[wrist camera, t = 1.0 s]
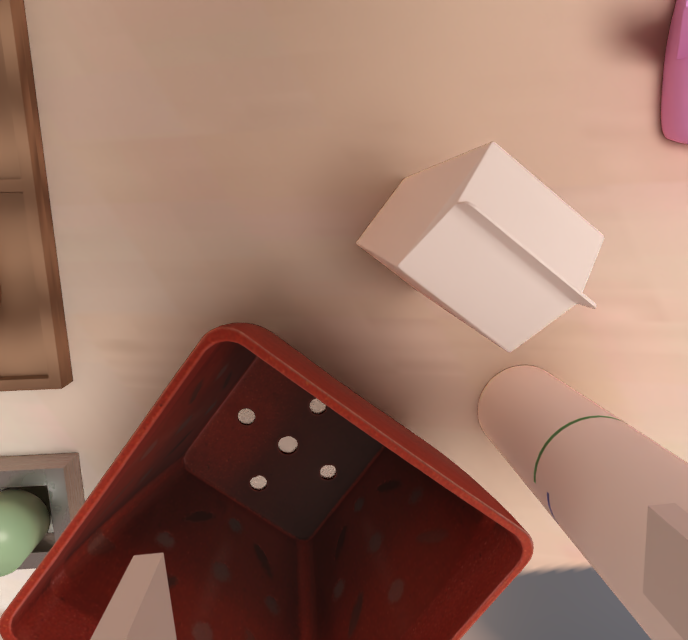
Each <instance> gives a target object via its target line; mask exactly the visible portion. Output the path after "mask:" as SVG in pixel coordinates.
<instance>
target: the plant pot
mask: <svg viewBox="0 0 688 640" xmlns="http://www.w3.org/2000/svg"><path fill="white" fill-rule="evenodd" d="M315 398H317V399H319V400H320V401H321V402H323V403H324V404H326V405H327V408H326V411H325V412H324V413H323V414H320V415H317V414H314V413H312V412H311V410H310V408H309V405H310V402H311V401H312V400H313V399H315ZM246 408H248V409H251V410H252V411H253V412H254V413H255V416H256V418H255V421H254V422H253V423H252V424H250V425H243V424H241V423H240V422H239V420H238V413H239V411H240V410H242V409H246ZM286 436H291V437H293V438H295V439H296V440H297V442H298V448H297V450H296V451H295V452H294V453H292V454H284V453H282V452H281V451H280V450H279V448H278V442H279V440H280V439H281V438H283V437H286ZM325 465H333V466H334V467H335V468H336V470H337V473H336V476H335V477H334V478H333V479H330V480H326V479H323V478H322V477H321V475H320V469H321V468H322V467H323V466H325ZM259 475H260V476H263V477H265V478H266V480H267V486H266V488H265V489H263V490H260V491H258V490H254V489H253V488H252V487H251V486H250V480H251V479H252V478H253V477H256V476H259ZM533 548H534V547H533V542H532V538H531V537H530V535H529V534H528V533H527V532H526V530H525V529H524V528H523V527H522V526H521V525H520V524H519V523H518V522H517V521H516V520H515V519H514V517H513V516H512V515H511V514H510V513H509V512H508V511H507V510H506V509H505V508H504V507H503V506H502V505H501V504H500V503H499V502H498V501H497V500H496V499H494V498H493V497H492V496H491V495H490V494H489V493H488V492H487V491H486V490H485V489H484V488H482V487H481V486H480V485H479V484H478V483H477V482H476V481H475V480H474V479H473V478H471V477H470V476H469V475H468V474H467V473H466V472H465V471H463V470H462V469H461V468H460V467H458V466H457V465H456V464H455V463H453V462H452V461H451V460H450V459H448V458H447V457H446V456H445V455H443V454H442V453H441V452H439V451H438V450H437V449H435V448H434V447H432V446H431V445H430V444H428V443H427V442H425V441H424V440H423V439H421V438H420V437H418V436H417V435H415V434H414V433H412V432H411V431H410V430H408V429H407V428H405V427H404V426H402V425H401V424H399V423H398V422H397V421H395V420H394V419H392V418H391V417H389V416H388V415H386V414H385V413H383V412H382V411H380V410H379V409H378V408H376V407H375V406H373V405H372V404H370V403H369V402H367V401H366V400H365V399H363V398H362V397H360V396H359V395H357V394H356V393H355V392H353V391H352V390H350V389H349V388H347V387H346V386H345V385H343V384H342V383H340V382H339V381H338V380H336V379H335V378H333V377H332V376H331V375H329V374H328V373H327V372H325V371H324V370H322V369H321V368H320V367H318V366H317V365H316V364H314V363H313V362H312V361H310V360H309V359H308V358H306V357H305V356H304V355H302V354H301V353H300V352H298V351H297V350H296V349H294V348H293V347H291V346H290V345H289V344H287V343H286V342H285V341H283V340H282V339H280V338H279V337H278V336H276V335H275V334H274V333H272V332H270V331H269V330H267V329H265V328H263V327H261V326H258V325H254V324H249V323H231V324H227V325H222V326H219V327H217V328H215V329H213V330H210V331H209V332H208V333H206V334H205V335H204V336H203V337H202V339H201V340H200V342H199V343H198V344H197V346H196V347H195V348H194V350H193V351H192V353H191V354H190V355H189V357H188V358H187V359H186V361H185V362H184V364H183V365H182V366H181V368H180V369H179V370H178V372H177V373H176V375H175V376H174V377H173V379H172V380H171V382H170V383H169V384H168V386H167V387H166V389H165V390H164V391H163V393H162V394H161V396H160V397H159V399H158V400H157V401H156V403H155V404H154V406H153V407H152V408H151V410H150V411H149V413H148V414H147V416H146V417H145V418H144V420H143V421H142V423H141V424H140V425H139V427H138V428H137V430H136V431H135V433H134V434H133V435H132V437H131V438H130V440H129V441H128V442H127V444H126V445H125V447H124V448H123V449H122V451H121V452H120V454H119V455H118V456H117V458H116V459H115V461H114V462H113V463H112V465H111V466H110V468H109V469H108V470H107V472H106V473H105V475H104V476H103V477H102V479H101V480H100V482H99V483H98V484H97V486H96V487H95V489H94V490H93V491H92V493H91V494H90V496H89V497H88V498H87V500H86V501H85V502H84V504H83V505H82V507H81V508H80V509H79V511H78V512H77V513H76V515H75V516H74V518H73V519H72V520H71V522H70V523H69V525H68V526H67V527H66V529H65V530H64V532H63V533H62V534H61V536H60V537H59V538H58V540H57V541H56V543H55V544H54V545H53V547H52V548H51V549H50V551H49V552H48V553H47V555H46V556H45V557H44V559H43V560H42V561H41V563H40V564H39V566H38V567H37V568H36V570H35V571H34V572H33V574H32V575H31V576H30V578H29V579H28V580H27V582H26V583H25V584H24V586H23V587H22V589H21V590H20V591H19V593H18V594H17V595H16V597H15V598H14V599H13V601H12V602H11V603H10V605H9V606H8V607H7V609H6V610H5V611H4V613H3V614H2V616H1V618H0V634H1V636H2V638H3V640H90V639H91V637H92V635H93V633H94V631H95V629H96V628H97V626H98V624H99V622H100V620H101V618H102V616H103V614H104V612H105V610H106V608H107V606H108V604H109V602H110V600H111V599H112V597H113V595H114V593H115V591H116V589H117V587H118V585H119V583H120V581H121V579H122V577H123V575H124V573H125V571H126V570H127V568H128V566H129V564H130V562H131V560H132V558H133V556H134V555H144V554H154V553H164V560H165V566H166V573H167V579H168V586H169V592H170V599H171V605H172V612H173V618H174V625H175V632H176V638H177V640H460V639H461V638H462V637H463V635H464V634H465V633H466V632H467V631H468V630H469V629H470V628H471V626H472V625H473V624H474V623H475V622H476V621H477V620H478V619H479V617H480V616H481V615H482V614H483V613H484V612H485V611H486V610H487V608H488V607H489V606H490V605H491V604H492V603H493V602H494V601H495V600H496V598H497V597H498V596H499V595H500V594H501V593H502V592H503V591H504V589H505V588H506V587H507V586H508V585H509V584H510V583H511V582H512V580H513V579H514V578H515V577H516V576H517V575H518V574H519V573H520V572H521V571H522V569H523V568H524V567H525V566H526V565H527V563H528V562H529V561H530V559H531V557H532V554H533Z"/></svg>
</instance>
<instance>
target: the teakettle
mask: <svg viewBox="0 0 688 640" xmlns="http://www.w3.org/2000/svg"><path fill="white" fill-rule="evenodd" d="M661 126H662V131H663V134H664V136H665V137H666V138H667V139H670V140H673V141H676V142H679V143H685V144H688V0H676V3H675V7H674V12H673V16H672V20H671V24H670V29H669V34H668V39H667V45H666V52H665V59H664V70H663V82H662V97H661Z"/></svg>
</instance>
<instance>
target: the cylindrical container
mask: <svg viewBox="0 0 688 640" xmlns="http://www.w3.org/2000/svg"><path fill="white" fill-rule="evenodd" d="M478 419H479V423H480V426H481V428H482V430H483V431H484V433H485V434H486V436H487V437H488V438H489V440H490V441H491V442H492V443H493V444H494V446H495V447H496V448H497V449H498V451H499V452H500V453H501V454H502V456H503V457H504V458H505V459H506V460H507V462H508V463H509V464H510V465H511V467H512V468H513V469H514V470H515V472H516V473H517V474H518V475H519V476H520V478H521V479H522V480H523V481H524V483H525V484H526V485H527V486H528V488H529V489H530V490H531V491H532V493H533V494H534V495H535V496H536V498H537V499H538V500H539V501H540V502H541V504H542V505H543V506H544V507H545V509H546V510H547V511H548V512H549V514H550V515H551V516H552V517H553V519H554V520H555V521H556V522H557V523H558V524H559V526H560V527H561V528H562V530H563V531H564V532H565V533H566V535H567V536H568V537H569V538H570V540H571V541H572V542H573V543H574V544H575V546H576V547H577V548H578V549H579V551H580V552H581V553H582V554H583V556H584V557H585V558H586V559H587V560H588V562H589V563H590V564H591V565H592V567H593V568H594V569H595V570H596V572H597V573H598V574H599V575H600V576H601V577H602V579H603V580H604V581H605V583H606V584H607V585H608V586H609V588H610V589H611V590H612V591H613V592H614V594H615V595H616V596H617V597H618V599H619V600H620V601H621V602H622V604H623V605H624V606H625V607H626V608H627V610H628V611H629V612H630V613H631V615H632V616H633V617H634V618H635V620H636V621H637V622H638V623H639V624H640V626H641V627H642V628H643V630H644V631H645V632H646V633H647V635H648V636H649V637H650V638H651V639H652V640H683V638H682V637H681V636H680V635H679V634H678V633H677V632H676V630H675V629H674V628H673V627H672V626H671V625H670V624H669V622H668V621H667V620H666V619H665V618H664V617H663V616H662V614H661V613H660V612H659V611H658V610H657V609H656V608H655V606H654V605H653V604H652V603H651V602H650V601H649V600H648V598H647V597H646V596H645V595H644V594H643V580H644V563H645V546H646V529H647V512H648V505H659V504H669V503H676V504H677V505H678V506H679V507H681V508H682V509H683V510H684V511H686V512H687V513H688V463H687V462H685V461H684V460H682V459H681V458H679V457H678V456H676V455H674V454H673V453H671V452H670V451H668V450H667V449H665V448H664V447H662V446H661V445H659V444H658V443H656V442H655V441H653V440H651V439H650V438H648V437H647V436H645V435H644V434H642V433H641V432H639V431H638V430H636V429H635V428H633V427H632V426H630V425H628V424H627V423H625V422H624V421H622V420H621V419H619V418H618V417H616V416H615V415H613V414H611V413H610V412H608V411H607V410H605V409H604V408H602V407H601V406H599V405H598V404H596V403H594V402H593V401H591V400H590V399H588V398H587V397H585V396H584V395H582V394H581V393H579V392H577V391H576V390H574V389H573V388H571V387H570V386H568V385H567V384H565V383H564V382H562V381H560V380H559V379H557V378H556V377H554V376H553V375H551V374H550V373H548V372H547V371H545V370H543V369H541V368H538V367H535V366H529V365H521V366H515V367H510V368H508V369H506V370H503V371H502V372H500V373H499V374H497V375H495V376H494V377H493V378H492V379H491V380H490V381H489V382H488V384H487V385H486V386H485V388H484V389H483V391H482V394H481V396H480V398H479V403H478Z"/></svg>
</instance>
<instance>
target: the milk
mask: <svg viewBox="0 0 688 640" xmlns="http://www.w3.org/2000/svg"><path fill="white" fill-rule="evenodd" d="M603 241H604V235H603V234H602V233H601V232H600V231H599V230H597V229H596V228H595V227H594V226H593V225H591V224H590V223H589V222H588V221H587V220H586V219H584V218H583V217H582V216H581V215H580V214H579V213H577V212H576V211H575V210H574V209H573V208H572V207H570V206H569V205H568V204H567V203H566V202H565V201H563V200H562V199H561V198H560V197H559V196H558V195H556V194H555V193H554V192H553V191H552V190H551V189H549V188H548V187H547V186H546V185H545V184H544V183H542V182H541V181H540V180H539V179H538V178H537V177H535V176H534V175H533V174H532V173H531V172H530V171H528V170H527V169H526V168H525V167H524V166H523V165H521V164H520V163H519V162H518V161H517V160H515V159H514V158H513V157H512V156H511V155H510V154H508V153H507V152H506V151H505V150H504V149H503V148H501V147H500V146H499V145H498V144H497V143H495V142H490V143H488V144H485V145H483V146H480V147H478V148H475V149H473V150H471V151H468V152H466V153H463V154H461V155H459V156H456V157H454V158H451V159H449V160H447V161H444V162H442V163H439V164H437V165H434V166H432V167H430V168H427V169H425V170H422V171H420V172H418V173H415V174H413V175H410V176H408V177H406V178H404V179H403V180H402V182H401V183H400V184H399V186H398V187H397V188H396V190H395V191H394V192H393V194H392V195H391V196H390V198H389V199H388V200H387V202H386V203H385V204H384V206H383V207H382V208H381V210H380V211H379V212H378V214H377V215H376V216H375V218H374V219H373V220H372V222H371V223H370V224H369V226H368V227H367V228H366V230H365V231H364V232H363V234H362V235H361V236H360V238H359V239H358V240H357V242H356V244H357V245H358V246H360V247H361V248H362V249H364V250H365V251H366V252H368V253H369V254H370V255H371V256H373V257H374V258H375V259H377V260H378V261H379V262H381V263H382V264H383V265H384V266H386V267H387V268H388V269H390V270H391V271H392V272H394V273H395V274H396V275H398V276H399V277H400V278H401V279H403V280H404V281H405V282H407V283H408V284H409V285H411V286H412V287H413V288H415V289H416V290H417V291H419V292H420V293H422V294H423V295H425V296H426V297H428V298H429V299H430V300H432V301H433V302H435V303H436V304H438V305H439V306H441V307H442V308H444V309H445V310H447V311H448V312H450V313H451V314H453V315H454V316H455V317H457V318H458V319H460V320H461V321H463V322H464V323H466V324H467V325H469V326H470V327H472V328H473V329H475V330H476V331H477V332H479V333H480V334H482V335H483V336H485V337H486V338H488V339H489V340H491V341H492V342H494V343H495V344H497V345H498V346H500V347H501V348H502V349H504V350H505V351H507V352H512V351H513V350H515V349H516V348H518V347H519V346H520V345H522V344H523V343H524V342H526V341H527V340H528V339H530V338H531V337H533V336H534V335H535V334H537V333H538V332H539V331H541V330H542V329H543V328H545V327H546V326H548V325H549V324H550V323H552V322H553V321H554V320H556V319H557V318H558V317H560V316H561V315H563V314H564V313H565V312H567V311H568V310H569V309H571V308H572V307H573V306H575V305H576V304H580V305H584V306H587V307H590V308H593V309H595V308H596V307H597V305H596V304H595V303H594V302H593V301H592V300H591V299H590V298H588V297H587V296H586V295H585V294H584V293H583V290H584V288H585V286H586V283H587V281H588V278H589V276H590V273H591V271H592V268H593V266H594V263H595V261H596V258H597V256H598V253H599V251H600V248H601V246H602V243H603Z"/></svg>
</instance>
